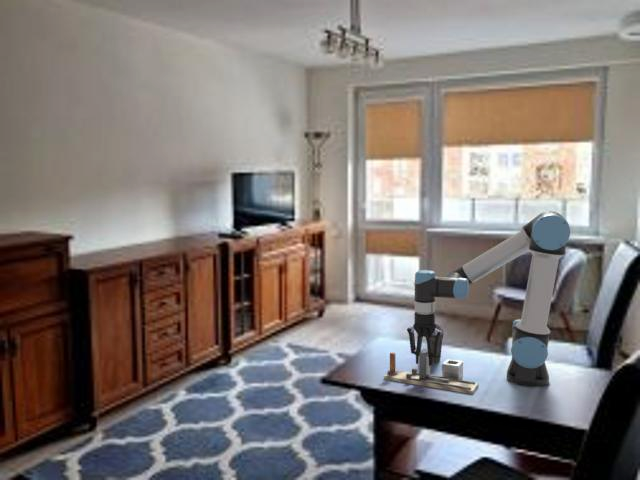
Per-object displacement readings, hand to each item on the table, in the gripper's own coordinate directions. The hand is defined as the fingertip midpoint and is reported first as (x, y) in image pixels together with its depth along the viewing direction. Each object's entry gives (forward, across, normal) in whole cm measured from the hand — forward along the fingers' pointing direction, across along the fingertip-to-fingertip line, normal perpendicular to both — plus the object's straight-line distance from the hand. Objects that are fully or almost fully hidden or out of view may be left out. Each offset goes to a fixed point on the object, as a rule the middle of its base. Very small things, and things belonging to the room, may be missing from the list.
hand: (424, 372), depth 217 cm
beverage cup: (+4, +4, -25) cm, 26 cm away
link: (+4, -8, -9) cm, 13 cm away
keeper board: (+4, -2, 0) cm, 4 cm away
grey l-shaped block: (+2, -4, 0) cm, 5 cm away
